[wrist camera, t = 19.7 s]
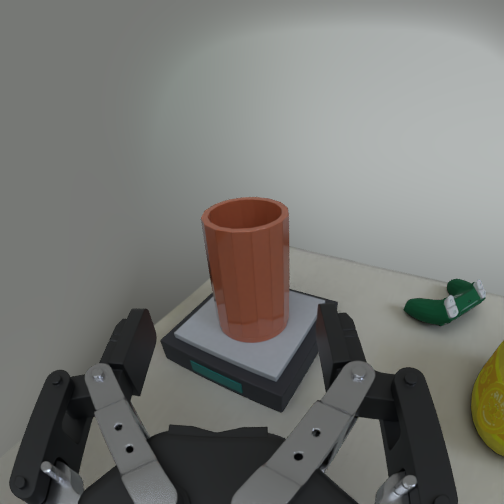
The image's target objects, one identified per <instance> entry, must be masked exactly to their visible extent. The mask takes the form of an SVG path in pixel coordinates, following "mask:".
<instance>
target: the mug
mask: <svg viewBox="0 0 504 504" xmlns="http://www.w3.org/2000/svg"><path fill="white" fill-rule="evenodd" d="M471 411H472V417H473V422H474V424H475V427H476V429H477V431H478V434H479V435H480V437H481V438H482V439H483V441H484V442H485V443H486V445H487V446H489V447H490V448H491V449H492V450H493V451H495V452H496V453H497V454H500V455H502V456H504V341H503V342H502V343H501V344H500V346H499V347H498V348H497V349H496V351H495V352H494V353H493V355H492V356H491V357H490V359H489V360H488V361H487V363H486V364H485V365H484V367H483V368H482V370H481V371H480V373H479V375H478V377H477V379H476V381H475V383H474V387H473V391H472V401H471Z"/></svg>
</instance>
